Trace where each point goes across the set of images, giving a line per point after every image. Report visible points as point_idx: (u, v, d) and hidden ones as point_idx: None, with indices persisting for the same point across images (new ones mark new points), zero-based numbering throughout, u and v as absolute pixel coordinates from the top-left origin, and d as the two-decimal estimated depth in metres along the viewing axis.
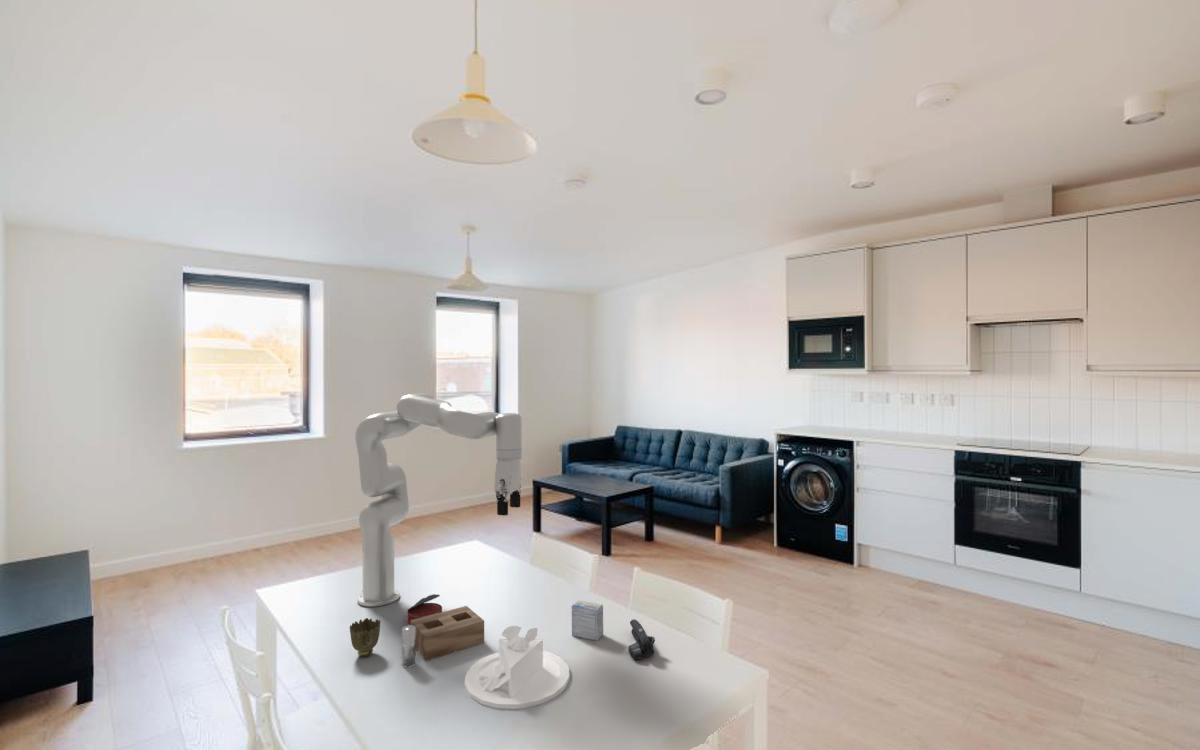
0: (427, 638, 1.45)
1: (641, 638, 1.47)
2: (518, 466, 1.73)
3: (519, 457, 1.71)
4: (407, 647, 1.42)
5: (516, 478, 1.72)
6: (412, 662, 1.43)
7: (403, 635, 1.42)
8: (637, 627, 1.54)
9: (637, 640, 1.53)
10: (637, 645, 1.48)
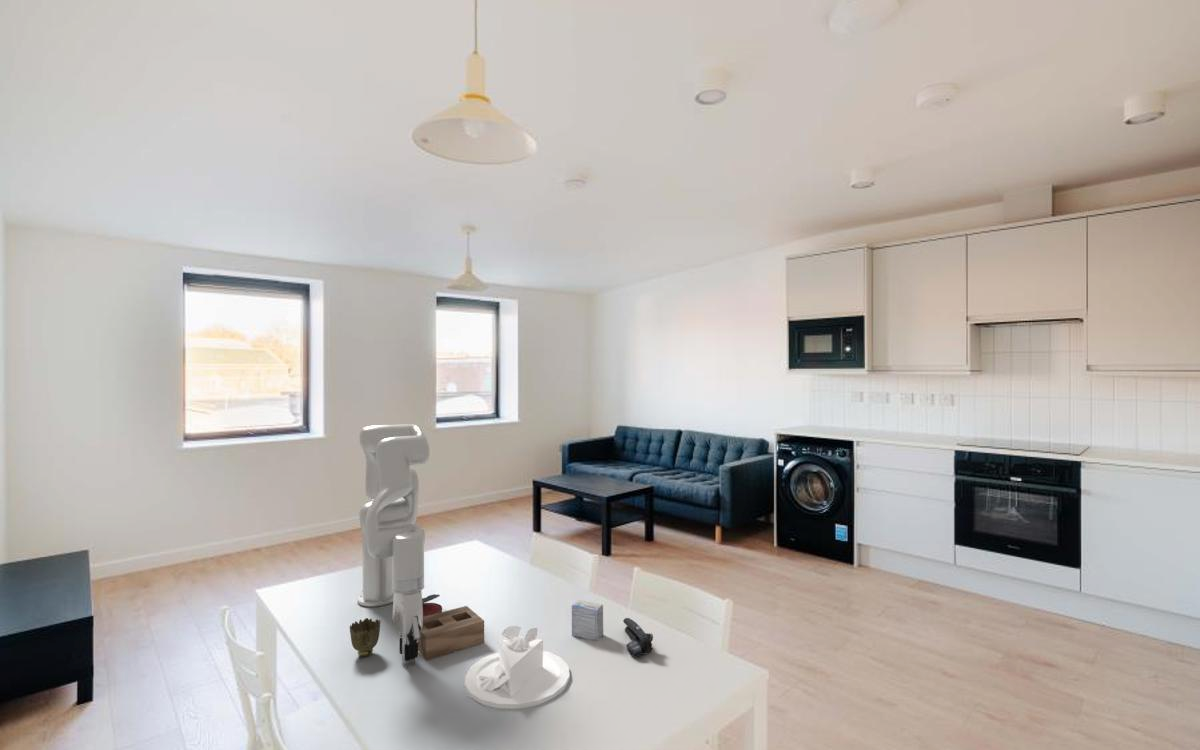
0: (427, 638, 1.45)
1: (640, 636, 1.49)
2: None
3: None
4: None
5: None
6: (412, 662, 1.43)
7: (403, 635, 1.42)
8: (633, 625, 1.55)
9: (634, 638, 1.54)
10: (636, 643, 1.49)
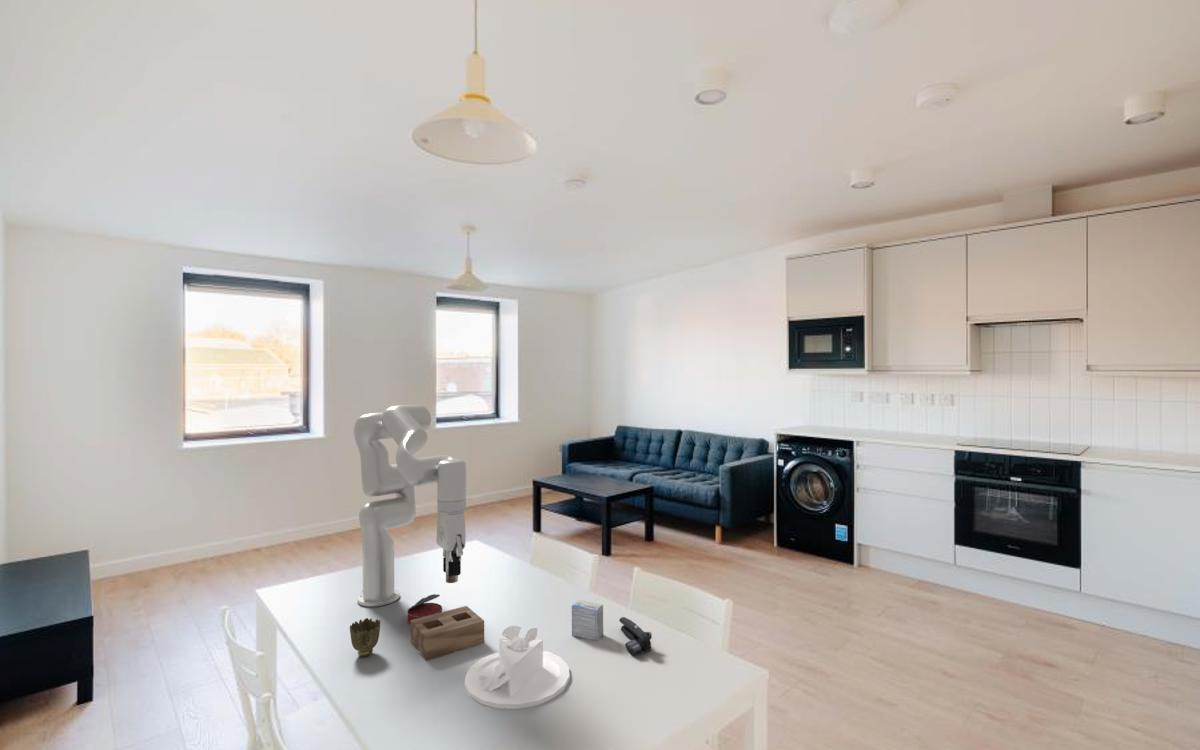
0: (427, 638, 1.45)
1: (639, 634, 1.50)
2: None
3: None
4: None
5: None
6: (455, 579, 1.53)
7: (447, 553, 1.53)
8: (631, 624, 1.56)
9: (631, 637, 1.55)
10: (635, 642, 1.50)
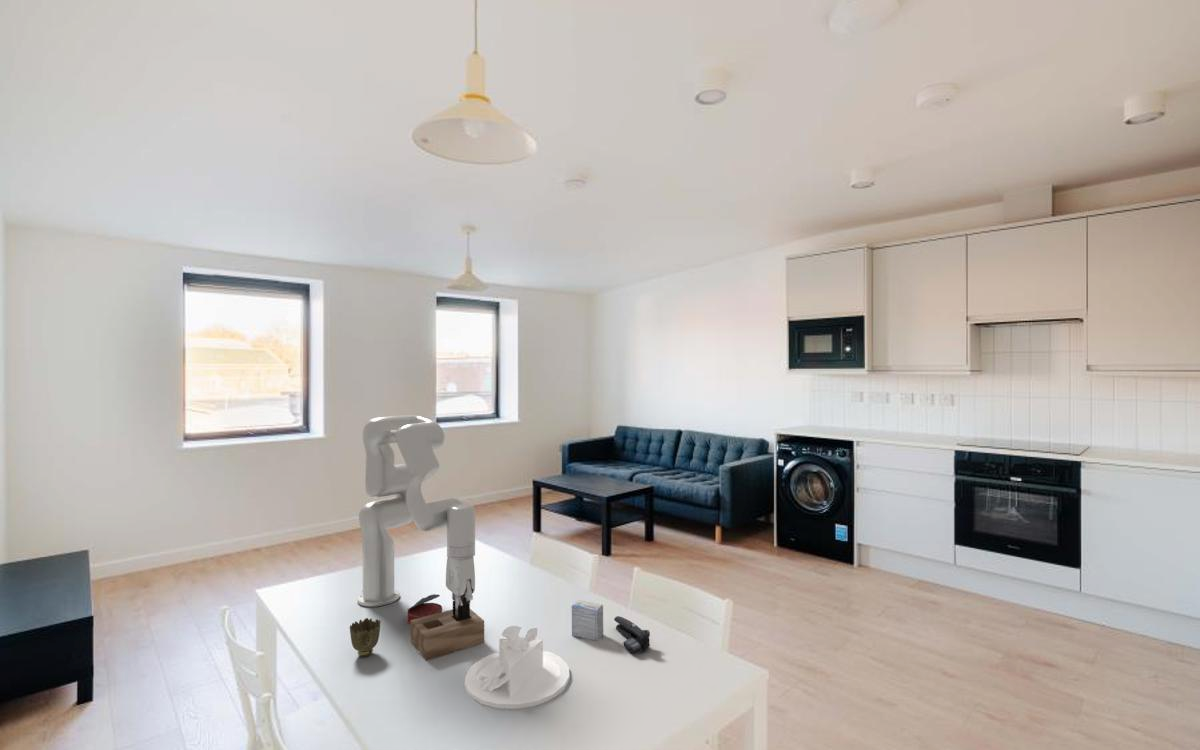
0: (427, 638, 1.45)
1: (638, 633, 1.50)
2: None
3: None
4: None
5: None
6: None
7: (456, 597, 1.56)
8: (628, 623, 1.56)
9: (629, 635, 1.55)
10: (634, 640, 1.50)
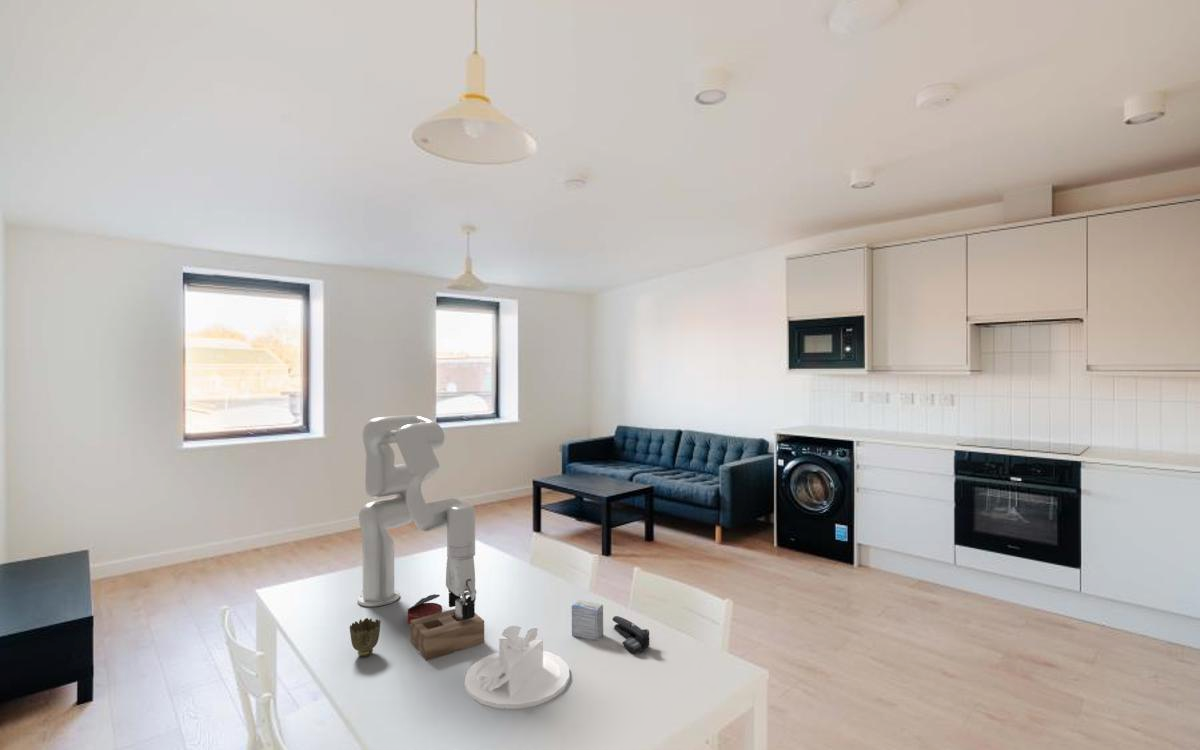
0: (427, 638, 1.45)
1: (638, 632, 1.51)
2: None
3: None
4: (460, 617, 1.56)
5: None
6: None
7: (456, 606, 1.56)
8: (627, 622, 1.57)
9: (628, 635, 1.56)
10: (634, 640, 1.51)
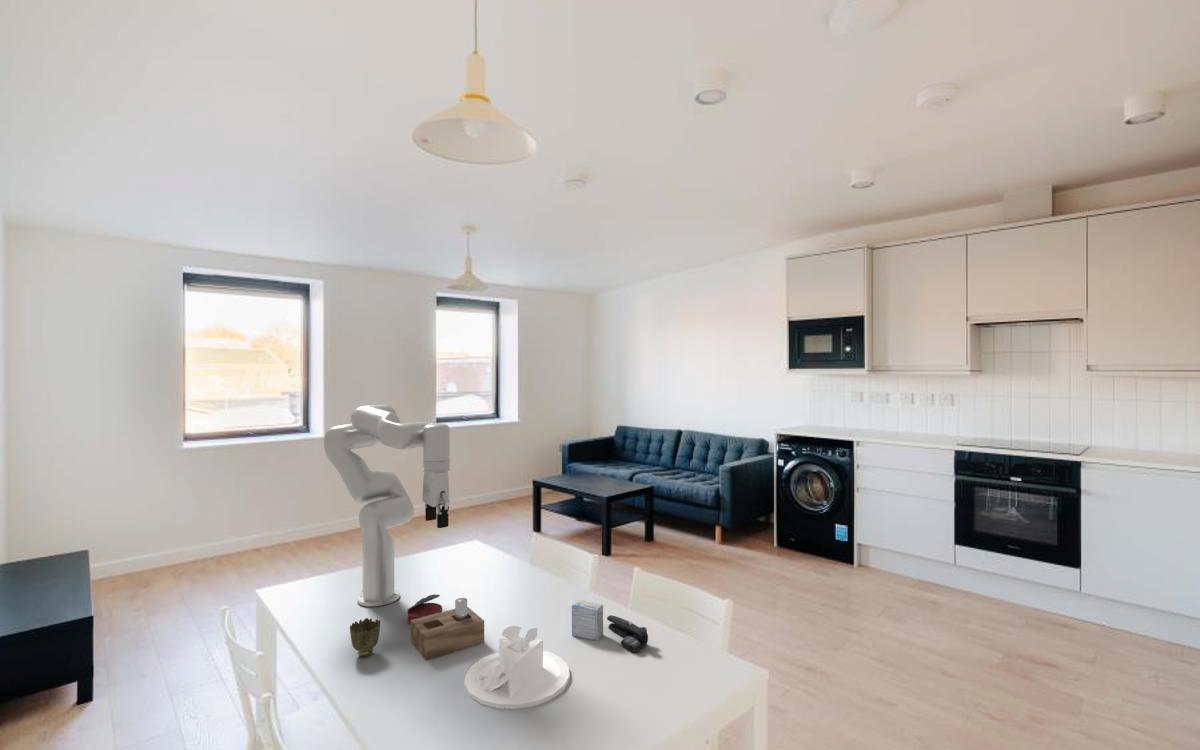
0: (427, 638, 1.45)
1: (636, 630, 1.52)
2: None
3: None
4: (460, 617, 1.56)
5: None
6: None
7: (456, 606, 1.56)
8: (623, 621, 1.57)
9: (625, 634, 1.57)
10: (632, 638, 1.52)
